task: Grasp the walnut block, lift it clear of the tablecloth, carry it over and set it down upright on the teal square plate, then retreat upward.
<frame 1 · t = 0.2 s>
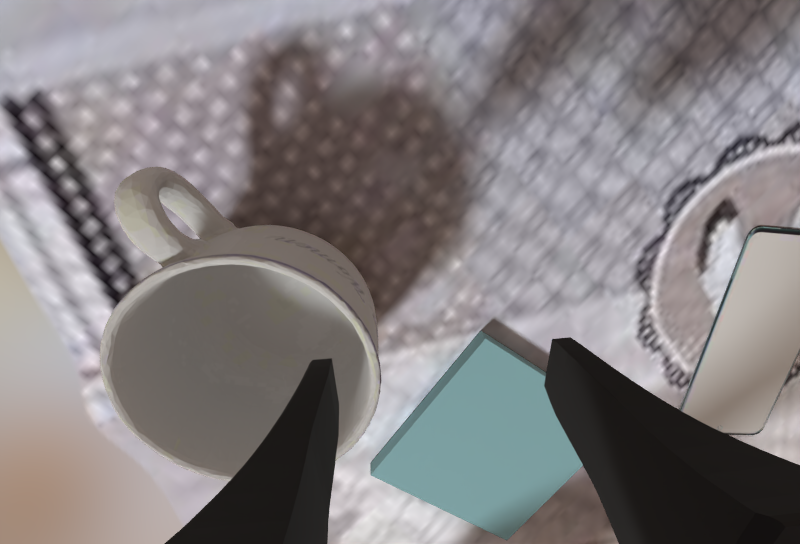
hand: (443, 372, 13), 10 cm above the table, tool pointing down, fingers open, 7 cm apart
teacup: (273, 277, 23), on the table
smartphone: (747, 336, 27), on the table
teal square plate: (492, 439, 28), on the table
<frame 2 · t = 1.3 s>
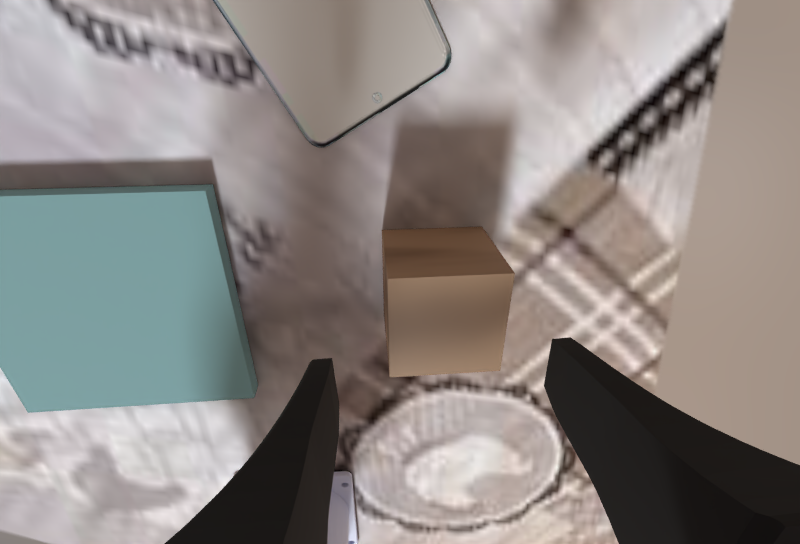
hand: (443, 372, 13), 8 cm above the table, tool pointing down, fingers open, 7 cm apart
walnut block: (430, 271, 21), on the table
teal square plate: (116, 304, 20), on the table
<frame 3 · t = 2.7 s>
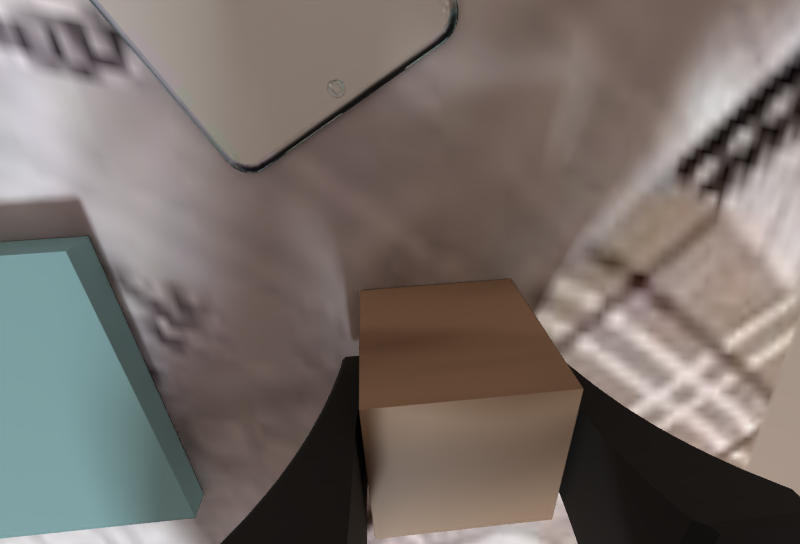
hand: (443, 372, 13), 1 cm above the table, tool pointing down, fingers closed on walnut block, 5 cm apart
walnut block: (435, 344, 14), on the table, touching gripper
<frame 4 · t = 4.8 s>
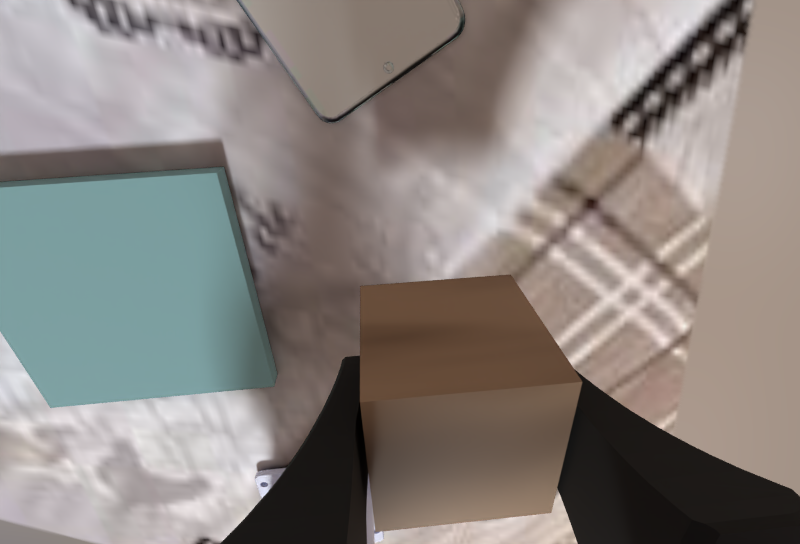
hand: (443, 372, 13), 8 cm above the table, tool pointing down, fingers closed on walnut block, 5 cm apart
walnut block: (436, 340, 15), point 7 cm above the table, touching gripper
teal square plate: (132, 295, 20), on the table
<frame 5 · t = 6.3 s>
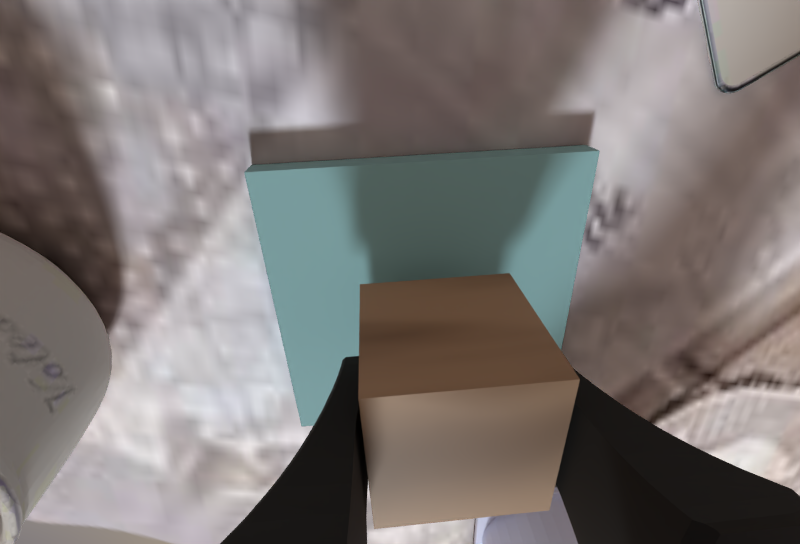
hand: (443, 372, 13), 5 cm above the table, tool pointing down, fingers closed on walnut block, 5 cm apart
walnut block: (435, 338, 15), point 3 cm above the table, touching gripper
teal square plate: (424, 297, 17), on the table
when the fingers open (4 cm above the table, at t = 7.4 s): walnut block drops 1 cm, resting on teal square plate.
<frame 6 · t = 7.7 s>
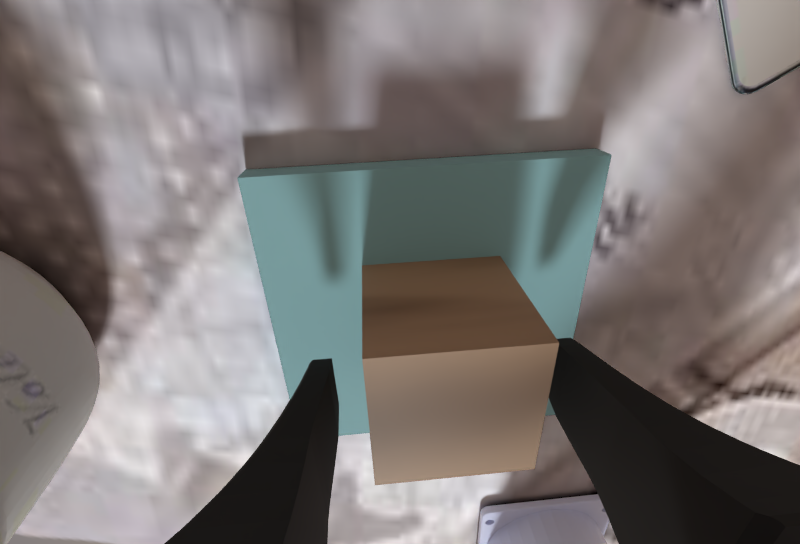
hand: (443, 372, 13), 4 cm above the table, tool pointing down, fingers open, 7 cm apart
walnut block: (431, 317, 16), point 1 cm above the table, touching teal square plate
teal square plate: (426, 306, 17), on the table
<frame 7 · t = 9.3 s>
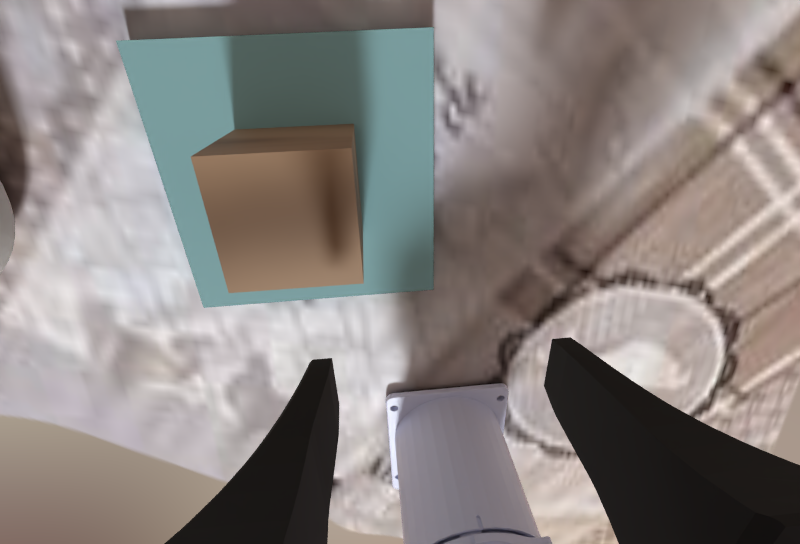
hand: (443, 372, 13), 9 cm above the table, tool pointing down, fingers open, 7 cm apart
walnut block: (303, 184, 18), point 1 cm above the table, touching teal square plate
teal square plate: (305, 180, 19), on the table
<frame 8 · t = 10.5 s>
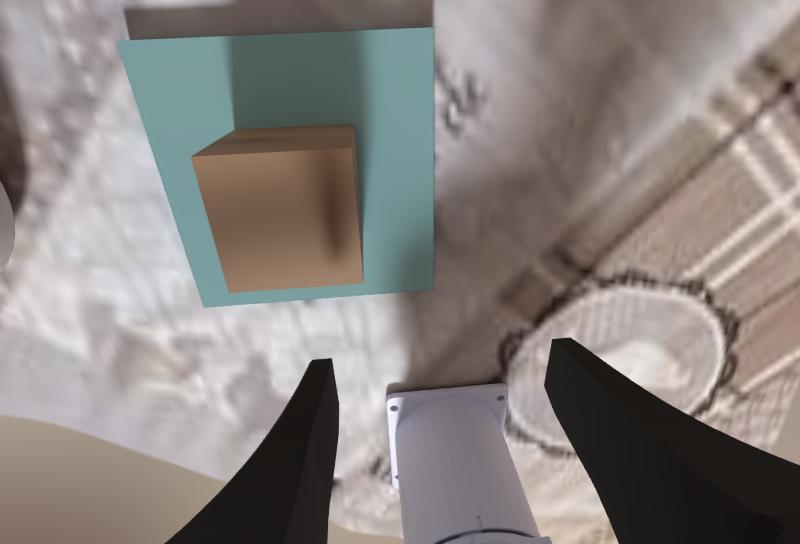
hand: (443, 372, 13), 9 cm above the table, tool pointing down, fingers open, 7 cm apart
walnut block: (303, 184, 18), point 1 cm above the table, touching teal square plate
teal square plate: (305, 180, 19), on the table
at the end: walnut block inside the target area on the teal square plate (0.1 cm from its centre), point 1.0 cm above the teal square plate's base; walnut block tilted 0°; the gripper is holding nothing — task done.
